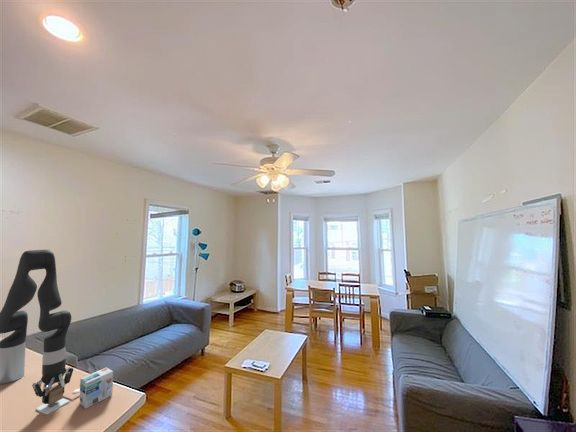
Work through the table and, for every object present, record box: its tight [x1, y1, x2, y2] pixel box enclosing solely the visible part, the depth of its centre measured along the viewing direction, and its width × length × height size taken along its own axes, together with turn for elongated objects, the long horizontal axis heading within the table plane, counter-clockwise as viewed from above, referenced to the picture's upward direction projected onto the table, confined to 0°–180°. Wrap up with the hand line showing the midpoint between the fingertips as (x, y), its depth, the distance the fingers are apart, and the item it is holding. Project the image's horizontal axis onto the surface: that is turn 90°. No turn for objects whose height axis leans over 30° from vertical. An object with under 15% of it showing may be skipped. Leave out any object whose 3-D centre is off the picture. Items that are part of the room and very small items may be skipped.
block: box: [48, 383, 64, 405], centre depth 109 cm, size 4×4×5 cm
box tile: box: [35, 397, 71, 415], centre depth 109 cm, size 8×8×1 cm
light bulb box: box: [79, 366, 114, 409], centre depth 113 cm, size 11×7×11 cm, turn 148°
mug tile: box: [63, 384, 80, 401], centre depth 117 cm, size 8×8×1 cm
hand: (53, 399), depth 109 cm, fingers closed on block, 4 cm apart
